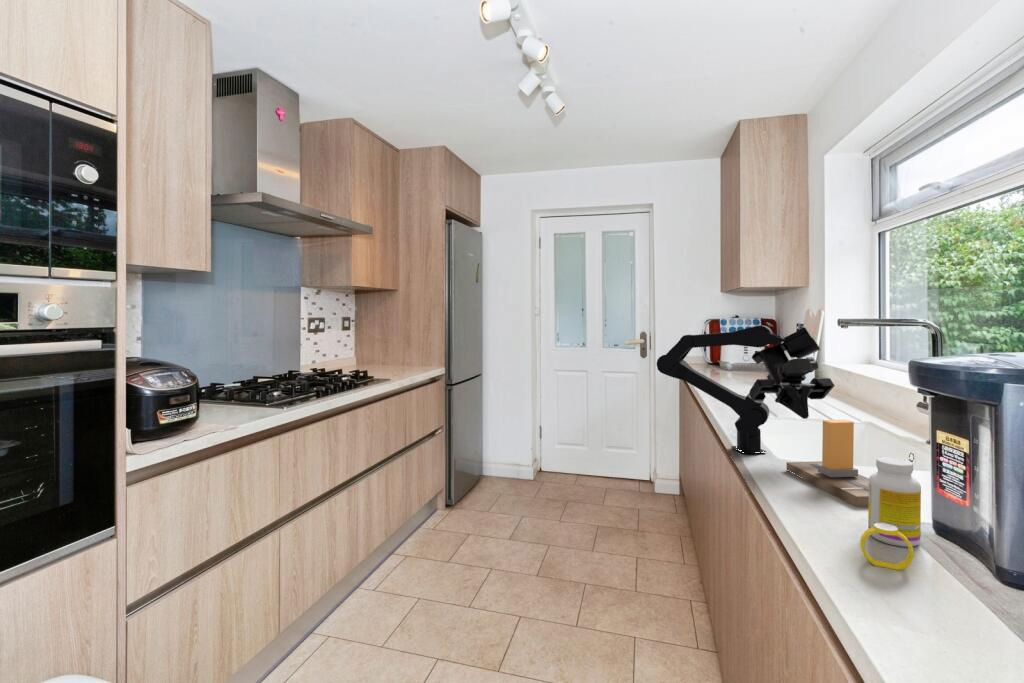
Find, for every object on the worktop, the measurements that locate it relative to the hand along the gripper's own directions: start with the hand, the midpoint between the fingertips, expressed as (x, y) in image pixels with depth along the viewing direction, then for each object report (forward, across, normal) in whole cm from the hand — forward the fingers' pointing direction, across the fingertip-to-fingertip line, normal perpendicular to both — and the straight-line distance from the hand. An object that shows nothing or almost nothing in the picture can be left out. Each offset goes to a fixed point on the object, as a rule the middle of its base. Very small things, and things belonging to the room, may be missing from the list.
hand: (806, 417), depth 113 cm
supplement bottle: (+34, -9, -16) cm, 39 cm away
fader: (+15, 0, 0) cm, 15 cm away
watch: (+40, -17, -22) cm, 48 cm away
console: (+17, 0, +1) cm, 17 cm away
